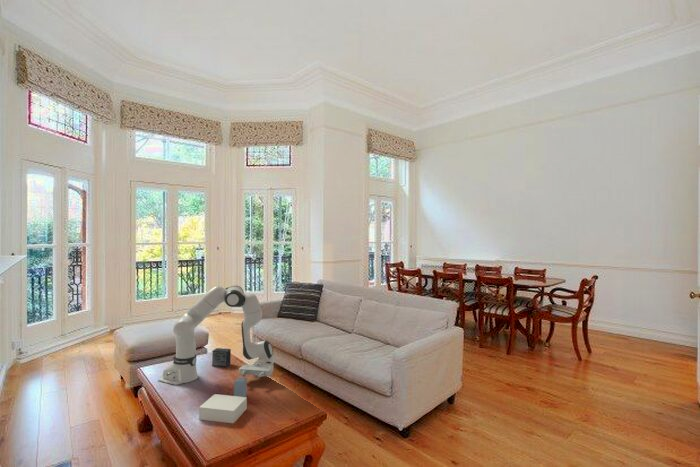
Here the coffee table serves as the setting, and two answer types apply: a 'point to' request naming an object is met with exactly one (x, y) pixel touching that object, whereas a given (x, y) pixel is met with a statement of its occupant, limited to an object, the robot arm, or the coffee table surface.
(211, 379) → the coffee table surface
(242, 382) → the slate block
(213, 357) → the small box
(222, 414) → the base
